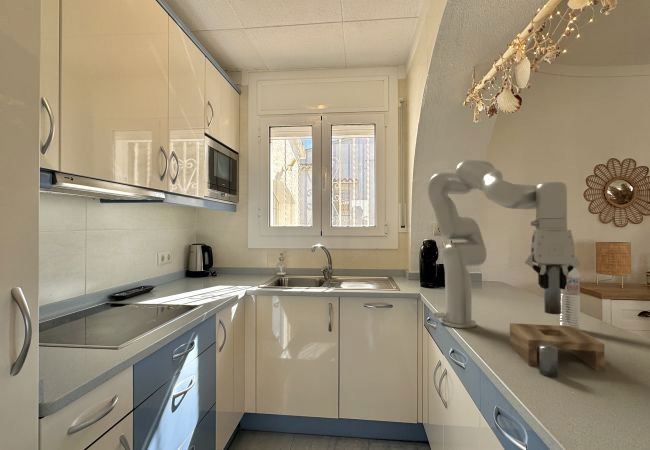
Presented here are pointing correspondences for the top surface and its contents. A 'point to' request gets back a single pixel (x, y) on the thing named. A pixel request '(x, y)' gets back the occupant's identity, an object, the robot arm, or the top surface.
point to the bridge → (556, 343)
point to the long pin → (553, 290)
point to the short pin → (548, 360)
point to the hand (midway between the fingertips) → (552, 287)
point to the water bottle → (570, 301)
